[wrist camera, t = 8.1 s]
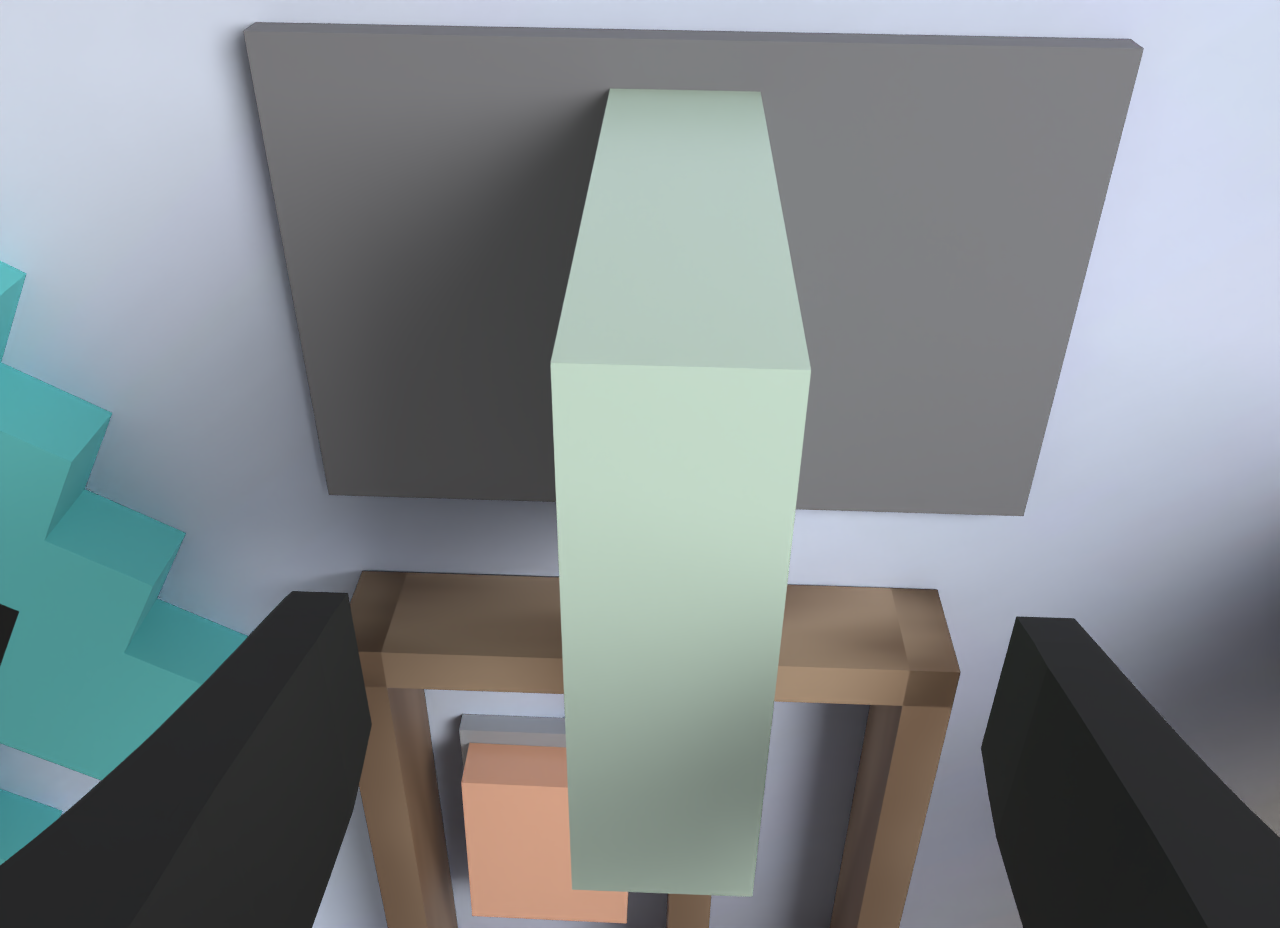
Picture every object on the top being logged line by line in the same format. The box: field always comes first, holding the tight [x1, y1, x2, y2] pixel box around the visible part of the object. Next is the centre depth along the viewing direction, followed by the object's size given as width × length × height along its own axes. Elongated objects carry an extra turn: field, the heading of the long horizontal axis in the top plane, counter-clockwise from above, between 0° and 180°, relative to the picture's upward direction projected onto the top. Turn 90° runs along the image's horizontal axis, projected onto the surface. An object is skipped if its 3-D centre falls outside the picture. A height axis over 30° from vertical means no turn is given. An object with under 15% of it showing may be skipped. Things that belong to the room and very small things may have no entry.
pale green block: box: [551, 89, 811, 897], centre depth 16 cm, size 2×8×9 cm, turn 179°
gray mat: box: [243, 22, 1144, 516], centre depth 20 cm, size 14×9×1 cm, turn 89°
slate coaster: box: [459, 714, 566, 770], centre depth 29 cm, size 4×6×1 cm
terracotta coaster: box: [461, 743, 628, 923], centre depth 28 cm, size 4×5×1 cm
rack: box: [350, 571, 960, 928], centre depth 27 cm, size 13×15×2 cm
